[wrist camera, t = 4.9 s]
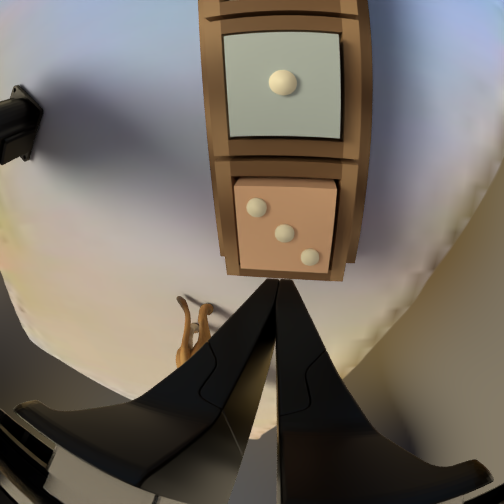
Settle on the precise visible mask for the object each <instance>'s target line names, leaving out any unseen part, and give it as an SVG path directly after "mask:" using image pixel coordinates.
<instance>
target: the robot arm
mask: <svg viewBox="0 0 504 504" xmlns="http://www.w3.org/2000/svg"><path fill="white" fill-rule="evenodd" d="M42 115H43V109H42V108H41V107H40V106H39V105H38V104H37V103H36V102H35V101H34V100H33V99H32V98H31V97H30V96H29V95H28V94H27V93H26V92H25V91H24V90H23V89H22V88H21V87H20V86H19V85H16V86H14V87H13V90H12V93H11V96H10V99H7V100H4V101H0V164H1V165H4V164H6V163H8V162H9V161H11V160H13V159H15V158H17V157H19V156H20V157H21V158H22V160H23V161H25V162H26V161H28V160H29V158H30V154H31V150H32V147H33V143H34V140H35V136H36V133H37V130H38V127H39V124H40V121H41V118H42ZM275 341H276V390H277V504H504V483H503V484H501V485H499V486H497V487H495V488H493V489H491V490H489V491H487V492H485V493H483V494H480V495H478V496H476V497H474V498H471V499H469V500H467V501H464V498H463V497H464V494H467V493H469V492H472V491H474V490H476V489H478V488H481V487H483V486H485V485H487V484H489V483H491V482H493V480H494V479H493V476H492V474H491V473H490V471H489V470H488V469H487V468H486V467H485V466H484V465H483V464H481V463H480V462H479V461H478V460H475V459H474V460H469V461H466V462H463V463H460V464H456V465H453V466H449V467H439V466H435V465H431V464H429V463H426V462H424V461H423V460H421V459H420V458H418V457H416V456H415V455H413V454H411V453H410V452H408V451H406V450H405V449H403V448H402V447H400V446H398V445H397V444H395V443H393V442H392V441H390V440H389V439H387V438H386V437H384V436H383V435H382V434H380V433H379V432H378V431H377V430H376V429H375V428H374V427H373V426H372V424H371V423H370V422H369V421H368V419H367V418H366V416H365V415H364V413H363V412H362V410H361V408H360V407H359V405H358V404H357V403H356V401H355V399H354V398H353V396H352V395H351V393H350V392H349V390H348V389H347V387H346V386H345V384H344V382H343V381H342V379H341V377H340V376H339V374H338V372H337V370H336V368H335V367H334V365H333V363H332V361H331V359H330V356H329V354H328V352H327V351H326V348H325V346H324V344H323V342H322V340H321V338H320V336H319V333H318V331H317V329H316V327H315V325H314V323H313V321H312V319H311V317H310V315H309V313H308V311H307V308H306V306H305V304H304V302H303V300H302V298H301V296H300V294H299V292H298V290H297V288H296V286H295V284H294V282H293V280H291V279H281V280H280V281H279V279H266V280H265V281H264V282H263V283H262V284H261V285H260V286H259V287H258V289H257V290H256V291H255V292H254V293H253V294H252V295H251V296H250V297H249V298H248V299H247V300H246V301H245V302H244V303H243V304H242V306H241V307H240V308H239V309H238V310H237V311H236V312H235V313H234V314H233V315H232V316H231V317H230V318H229V319H228V320H227V321H226V322H225V323H224V324H223V325H222V326H221V327H220V328H219V329H218V331H217V332H216V333H215V334H214V335H213V336H212V337H211V338H210V339H209V340H208V342H206V343H205V344H204V345H203V346H202V347H201V348H200V349H199V350H198V351H197V352H196V353H195V354H194V355H192V356H191V357H190V358H189V359H188V360H187V361H186V362H185V363H183V364H182V365H181V366H180V367H179V368H177V369H176V370H175V371H174V372H172V373H171V374H170V375H169V376H167V377H166V378H165V379H163V380H162V381H161V382H159V383H158V384H157V385H155V386H154V387H153V388H152V389H150V390H149V391H148V392H146V393H145V394H143V395H142V396H140V397H138V398H136V399H134V400H132V401H129V402H126V403H121V404H115V405H110V406H103V407H97V408H89V409H82V410H74V411H59V410H55V409H51V408H49V407H47V406H46V405H44V404H43V403H41V402H40V401H38V400H32V401H27V402H24V403H21V404H19V405H17V406H16V407H15V408H13V411H14V412H15V413H16V414H17V415H18V416H19V417H21V418H22V419H23V420H24V421H25V422H27V423H28V424H29V425H31V426H32V427H33V428H34V429H36V430H37V431H38V432H40V433H41V434H42V435H44V436H45V437H47V438H48V439H49V440H51V441H52V442H54V443H55V444H56V446H55V448H54V450H53V449H52V448H50V447H49V446H48V445H46V444H45V443H43V442H42V441H41V440H40V439H38V438H37V437H36V436H34V435H33V434H31V433H30V432H29V431H28V430H26V429H25V428H24V427H22V426H21V425H20V424H19V423H17V422H16V421H15V420H14V419H12V418H11V417H10V416H9V415H7V414H6V413H5V412H4V411H3V410H1V409H0V504H227V503H228V500H229V497H230V495H231V492H232V489H233V486H234V483H235V480H236V477H237V474H238V471H239V468H240V465H241V461H242V458H243V457H242V456H243V455H244V452H245V449H246V446H247V443H248V439H249V436H250V433H251V430H252V426H253V423H254V419H255V416H256V413H257V409H258V406H259V402H260V399H261V395H262V391H263V388H264V384H265V381H266V377H267V373H268V369H269V366H270V362H271V358H272V354H273V350H274V346H275Z"/></svg>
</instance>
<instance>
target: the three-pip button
mask: <svg viewBox="0 0 504 504" xmlns="http://www.w3.org/2000/svg"><path fill="white" fill-rule="evenodd" d="M234 194H235V206H236V218H237V230H238V242H239V254H240V265H241V268H243V269H259V270H276V271H294V272H313V273H328V268H329V260H330V252H331V244H332V236H333V227H334V217H335V206H336V195H337V188H336V185H335V182H334V179H329V178H310V177H283V176H240V178H239V179H238V181H237V182H236V184H235V185H234Z"/></svg>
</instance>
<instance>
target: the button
mask: <svg viewBox="0 0 504 504" xmlns="http://www.w3.org/2000/svg"><path fill="white" fill-rule="evenodd" d="M224 50H225V67H226V83H227V98H228V113H229V127H230V137H233V136H308V137H327V138H340V108H341V87H340V51H339V34H329V33H312V32H266V33H250V34H238V35H229V36H224Z"/></svg>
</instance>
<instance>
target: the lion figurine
mask: <svg viewBox="0 0 504 504" xmlns="http://www.w3.org/2000/svg"><path fill="white" fill-rule="evenodd" d="M177 301H178V303H179V304H180V305H181V307H182V309H183V310H184V312H185V328H184V334H183V339H182V345H181V347H180V348H179V349H178V351H177V355H176V365H177V368H179V367H180V366H181V365H182V364H183V363H185V362H186V361H187V360H188V359H189V358H190V357H191V356H192V355H194V354H195V353H196V352H197V351H198V350H199V349H200V348H201V347H202V346H203V345H204V344H205V343H206V342H208V340H209V339H210V338H211V335H210V330H209V326H208V320H207V315H210V314H211V313H212V312H213V306H212V305H211V304H203V305H202V306H201V307H200V310H199V316H198V323H199V326H198V325H197V324H194V323H191V318H190V311H189V309H188V305H187V303H186V300H185V299H183V298H182V297H181V296H178V297H177ZM198 332H199V338H198V341H197V343H196V344H195V346H194V347H193V334H194V333H198Z"/></svg>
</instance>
